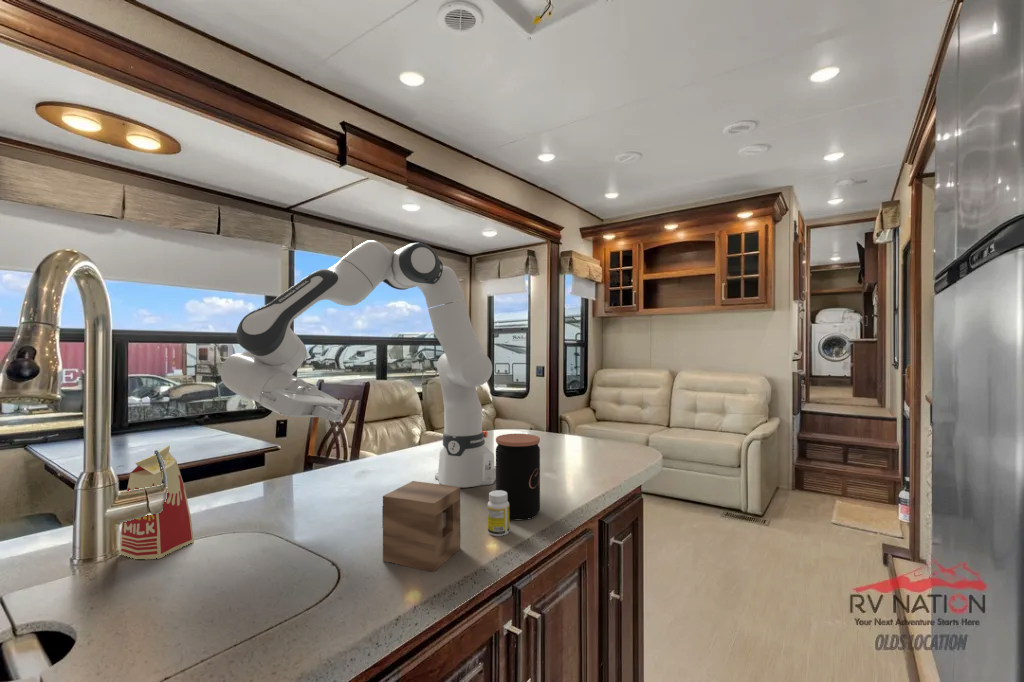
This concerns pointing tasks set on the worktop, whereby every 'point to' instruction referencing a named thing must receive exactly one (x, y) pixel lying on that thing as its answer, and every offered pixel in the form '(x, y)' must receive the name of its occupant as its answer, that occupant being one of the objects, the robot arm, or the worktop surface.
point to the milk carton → (167, 527)
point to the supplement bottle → (498, 513)
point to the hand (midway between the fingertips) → (338, 418)
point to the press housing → (421, 525)
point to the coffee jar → (519, 473)
